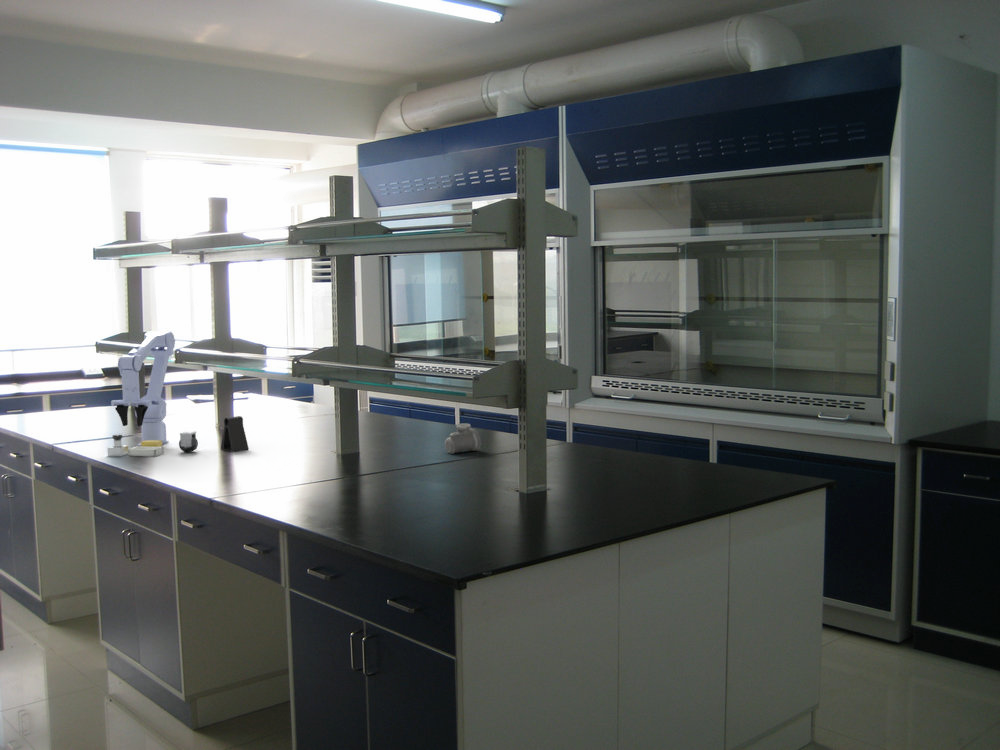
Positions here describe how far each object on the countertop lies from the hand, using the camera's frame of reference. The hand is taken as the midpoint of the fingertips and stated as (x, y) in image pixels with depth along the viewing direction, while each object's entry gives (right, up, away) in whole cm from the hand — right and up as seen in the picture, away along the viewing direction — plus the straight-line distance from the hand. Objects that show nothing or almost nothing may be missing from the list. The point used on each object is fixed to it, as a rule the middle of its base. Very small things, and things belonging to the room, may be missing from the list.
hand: (132, 425), depth 326 cm
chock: (+7, -10, 0) cm, 12 cm away
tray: (+7, -10, -6) cm, 14 cm away
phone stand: (+36, -9, +3) cm, 37 cm away
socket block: (-3, -10, -6) cm, 12 cm away
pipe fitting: (+120, -9, -5) cm, 120 cm away
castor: (+21, -9, -2) cm, 23 cm away
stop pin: (-3, -10, -6) cm, 12 cm away
